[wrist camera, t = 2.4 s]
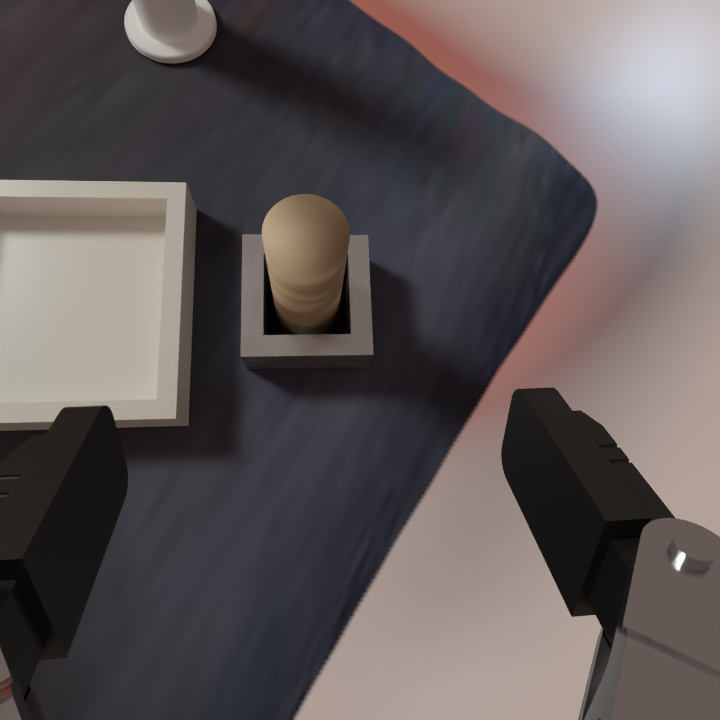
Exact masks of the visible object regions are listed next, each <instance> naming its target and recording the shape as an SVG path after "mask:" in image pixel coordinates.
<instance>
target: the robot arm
mask: <svg viewBox="0 0 720 720" xmlns="http://www.w3.org/2000/svg"><path fill="white" fill-rule="evenodd" d="M501 453H502V454H501V456H502V466H503V470H504V474H505V477H506V479H507V481H508V483H509V486H510V488H511V490H512V492H513V494H514V496H515V498H516V500H517V502H518V504H519V506H520V509H521V511H522V512H523V515H524V517H525V519H526V521H527V523H528V525H529V528H530V530H531V531H532V534H533V536H534V538H535V540H536V542H537V544H538V547H539V549H540V551H541V553H542V555H543V557H544V559H545V561H546V563H547V566H548V568H549V570H550V572H551V574H552V576H553V578H554V580H555V582H556V585H557V587H558V589H559V591H560V593H561V595H562V597H563V599H564V601H565V603H566V605H567V608H568V610H569V612H570V614H571V616H572V617H574V616H585V615H596V616H597V618H598V620H599V622H600V624H601V626H602V629H601V632H600V634H599V637H598V640H597V645H596V648H595V653H594V657H593V661H592V665H591V669H590V673H589V678H588V681H587V685H586V690H585V694H584V698H583V702H582V706H581V710H580V715H579V719H578V720H720V537H719V536H717V535H716V534H714V533H713V532H711V531H709V530H708V529H706V528H704V527H702V526H699V525H697V524H694V523H692V522H688V521H686V520H681V519H676V518H675V517H674V516H673V515H672V513H671V512H670V511H669V509H668V508H667V507H666V506H665V504H664V503H663V502H662V501H661V499H660V498H659V497H658V496H657V494H656V493H655V492H654V491H653V489H652V488H651V487H650V485H649V484H648V483H647V482H646V480H645V479H644V478H643V476H642V475H641V474H640V473H639V471H638V470H637V469H636V468H635V466H634V465H633V464H632V463H629V459H628V458H627V456H626V455H625V454H624V452H623V451H622V450H621V449H620V448H617V444H616V442H615V441H614V440H613V438H612V437H611V436H610V435H609V433H608V432H607V431H606V429H605V428H604V427H603V426H602V425H601V424H599V423H598V422H596V421H595V420H594V419H592V418H591V417H589V416H588V415H586V414H585V413H583V412H582V411H572V410H571V408H570V407H569V406H568V404H567V403H566V402H565V400H564V399H563V398H562V396H561V395H560V394H559V392H558V391H557V390H556V389H555V388H534V389H517V390H515V392H514V393H513V395H512V400H511V404H510V409H509V414H508V419H507V424H506V429H505V434H504V440H503V444H502V452H501ZM127 486H128V471H127V465H126V461H125V457H124V454H123V450H122V446H121V442H120V439H119V435H118V431H117V427H116V424H115V420H114V416H113V413H112V411H111V409H110V408H109V407H108V406H106V405H103V406H79V407H65V408H63V409H62V410H61V411H60V412H59V414H58V415H57V417H56V419H55V420H54V422H53V423H52V425H51V427H50V428H49V430H48V431H47V433H46V434H44V435H33V436H32V437H31V438H29V439H28V440H27V441H26V442H24V443H23V444H22V445H20V446H19V447H18V448H17V449H15V450H14V451H13V452H12V453H10V454H9V456H8V457H7V458H6V460H5V461H4V463H3V464H2V466H1V467H0V720H45V717H44V715H43V712H42V710H41V707H40V705H39V702H38V700H37V697H36V695H35V692H34V690H33V688H32V686H31V684H30V681H31V679H32V676H33V674H34V671H35V669H36V666H37V664H38V662H39V660H43V659H54V658H66V657H67V655H68V652H69V649H70V647H71V644H72V641H73V638H74V636H75V633H76V630H77V628H78V625H79V622H80V619H81V617H82V614H83V611H84V609H85V606H86V603H87V600H88V598H89V595H90V592H91V590H92V587H93V584H94V582H95V579H96V576H97V573H98V571H99V568H100V565H101V563H102V560H103V557H104V554H105V552H106V549H107V546H108V544H109V541H110V538H111V535H112V533H113V530H114V527H115V525H116V522H117V519H118V516H119V514H120V511H121V508H122V506H123V503H124V500H125V497H126V493H127Z"/></svg>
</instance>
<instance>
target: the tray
mask: <svg viewBox="0 0 720 720" xmlns="http://www.w3.org/2000/svg"><path fill="white" fill-rule="evenodd" d="M196 214H197V209H196V206H195V204H194V201H193V199H192V196H191V194H190V191H189V189H188V186H187V184H186V183H177V182H110V181H42V180H0V431H15V430H49V428H50V427H51V425H52V423H53V422H54V420H55V419H56V417H57V415H58V414H59V412H60V411H61V410H62V409H63V408H65V407H79V406H103V405H106V406H108V407H109V408H110V409H111V411H112V413H113V416H114V420H115V424H116V427H117V428H126V427H163V426H189V399H190V373H191V347H192V320H193V294H194V267H195V241H196Z"/></svg>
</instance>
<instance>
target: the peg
mask: <svg viewBox="0 0 720 720" xmlns="http://www.w3.org/2000/svg"><path fill="white" fill-rule="evenodd" d="M262 240H263V245H264V251H265V256H266V262H267V267H268V272H269V278H270V283H271V289H272V294H273V299H274V305H275V310H276V316H277V320H278V322H279V325H280V326H281V328H282V329H283V330H284V331H285V332H286V333H287V334H288V335H315V334H328V333H329V332H330V331H331V330H332V328H333V327H334V325H335V323H336V320H337V316H338V310H339V304H340V298H341V291H342V285H343V279H344V272H345V266H346V260H347V254H348V247H349V241H350V229H349V225H348V222H347V219H346V218H345V216H344V214H343V213H342V211H341V210H340V209H339V208H338V207H337V206H336V205H335V204H334V203H332V202H331V201H329V200H327V199H325V198H323V197H320V196H317V195H311V194H299V195H293V196H290V197H287V198H285V199H283V200H281V201H280V202H278V203H277V204H276V205H274V206H273V207H272V208H271V210H270V211H269V212H268V214H267V216H266V217H265V220H264V223H263V226H262Z"/></svg>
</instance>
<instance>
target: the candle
mask: <svg viewBox="0 0 720 720" xmlns="http://www.w3.org/2000/svg"><path fill="white" fill-rule="evenodd" d="M124 24H125V30H126V33H127V36H128V38H129V40H130V42H131V43H132V45H133V46H134V47H135V49H136V50H137V51H139V52H140V53H141V54H142V55H144V56H146V57H147V58H149V59H152V60H154V61H158V62H162V63H172V64H173V63H183V62H187V61H190V60H193V59H195V58H197V57H199V56H200V55H202V54H203V53H204V52H205V51H206V50H207V49H208V48H209V47H210V46H211V44H212V43H213V41H214V39H215V36H216V31H217V23H216V18H215V14H214V11H213V9H212V7H211V5H210V4H209V3H208V1H207V0H132V2H131V3H130V5H129V6H128V8H127V10H126V13H125V19H124Z"/></svg>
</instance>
